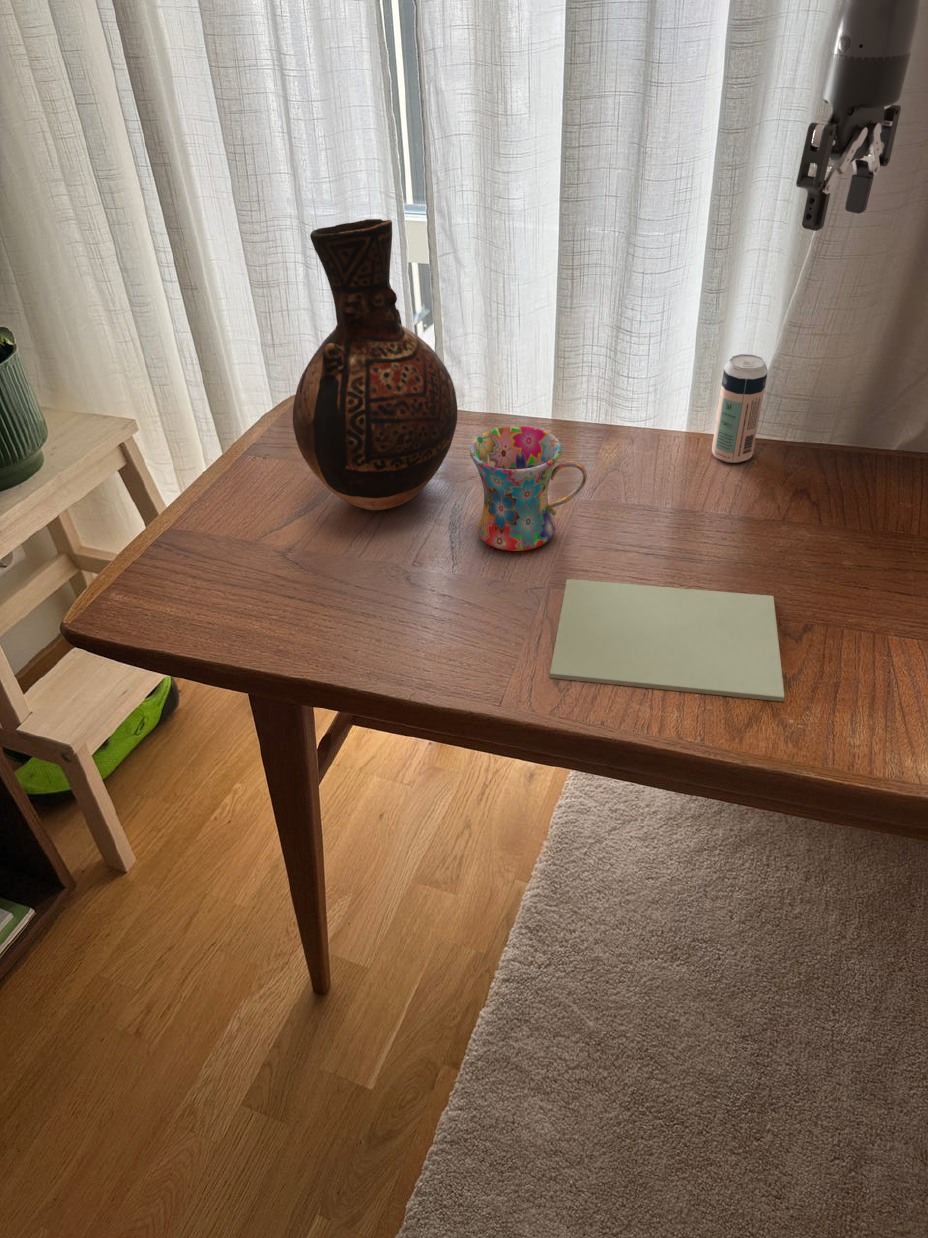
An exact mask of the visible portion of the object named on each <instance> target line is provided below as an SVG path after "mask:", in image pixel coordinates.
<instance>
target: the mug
mask: <svg viewBox="0 0 928 1238" xmlns="http://www.w3.org/2000/svg"><path fill="white" fill-rule="evenodd" d="M469 454H470V458H471V459H472V461H473V463H474V465H475V467H476V469H477V471H478V474H479V477H480V480H481V482H482V483H481V484H482V490H483V509H482V513H481V516H480V518H479V519H478V520H477V524H476V531H477V534H478V536H479V538H480V539H481V540H482V541H483V542H484V543H486V544H487V545H489V546H491V547H492V548H495V549H498V550H502V551H508V552H523V551H529V550H533V549H536V548H539V547H541V546H543V545H544V544H546V543H548V541H550V540H551V538H552V537H553V536H554V534H555V531H556V522H555V520H554V518H553V516H556V515H557V511H556V509H554V508H556V507H559V506H561V505H564V504H565V503H567V502H569V501H570V500H572V499H573V498H575V497H576V496H577V495H578V494H579V493H580V492H581V491H582V489H583V488H584V486H585V484H586V482H587V478H588V472H587V469H586V468H585V466H584V465H583V464H582V463H580V462H577V461H574V460H567V461H563V462H561V463H559V464H558V465H557V462H558V461H559V458H560V457H561V454H562V445H561V442H560V441H559V439H558V438H557V437H556V436H555V435H553V434H552V433H550V432H548V431H546V430H544V429H540V428H537V427H532V426H523V425H512V426H504V427H503V426H502V427H498V428H494V429H491V430H488V431H485V432H483V433H481V434H480V435H478V436H477V437H476V438H475V439H473V441H472V442H471V444H470V447H469ZM568 467H572V468H576V469H578V470H579V471H580V473H582V480H581V481H580V483H579V484H578V485H577V487H576V488H575V489H574V490H573V491H572V492H571V493H569V494H568V495H566V496H565V497H562V498H560V499H558V500H556V501H552V502H550V503H549V499H548V494H549V486H550V481H554V479H555V477H556V474H557V473H558V472H559V471H561V469H564V468H568Z"/></svg>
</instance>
